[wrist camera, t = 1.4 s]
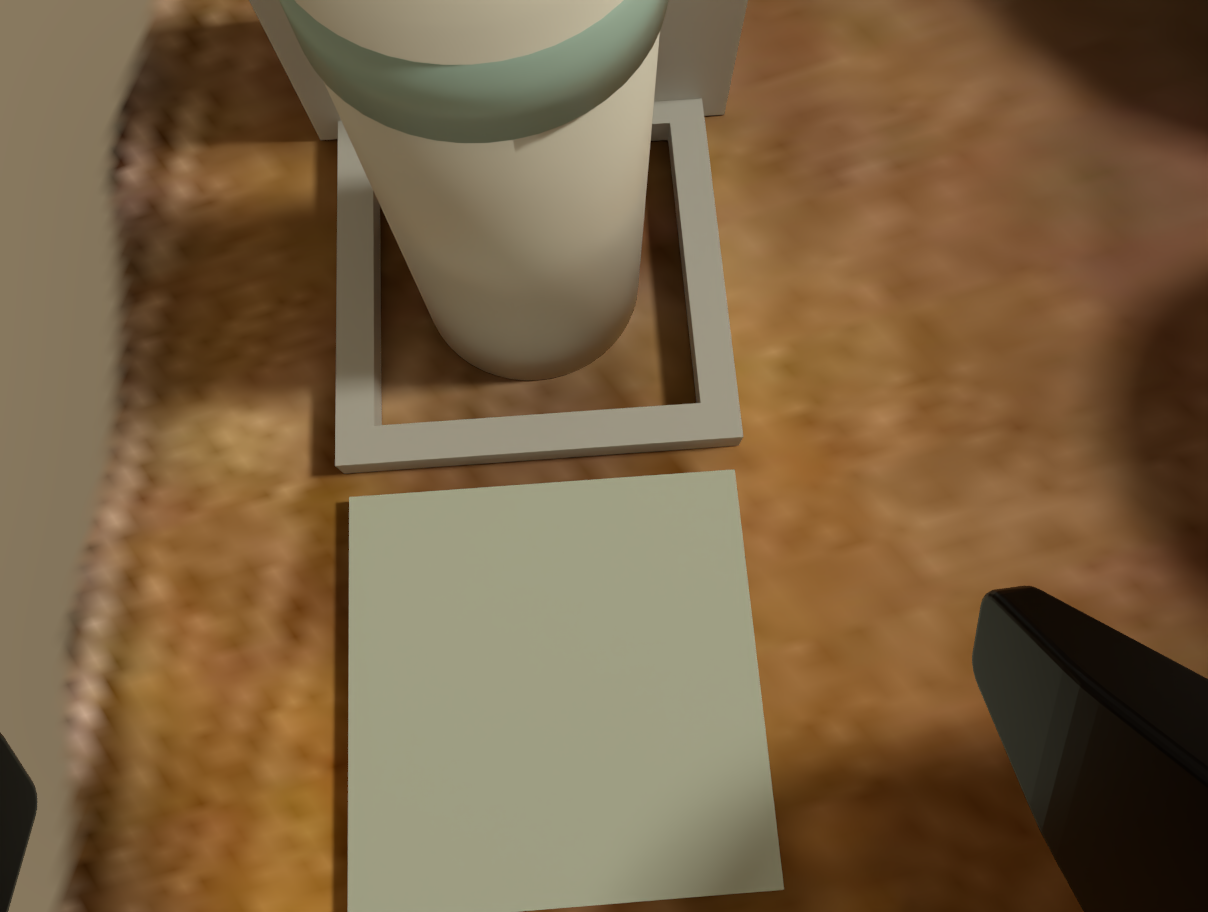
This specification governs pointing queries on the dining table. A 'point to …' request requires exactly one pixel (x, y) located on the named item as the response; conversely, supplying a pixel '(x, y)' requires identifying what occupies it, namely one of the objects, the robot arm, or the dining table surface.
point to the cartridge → (502, 160)
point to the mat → (554, 698)
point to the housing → (362, 444)
